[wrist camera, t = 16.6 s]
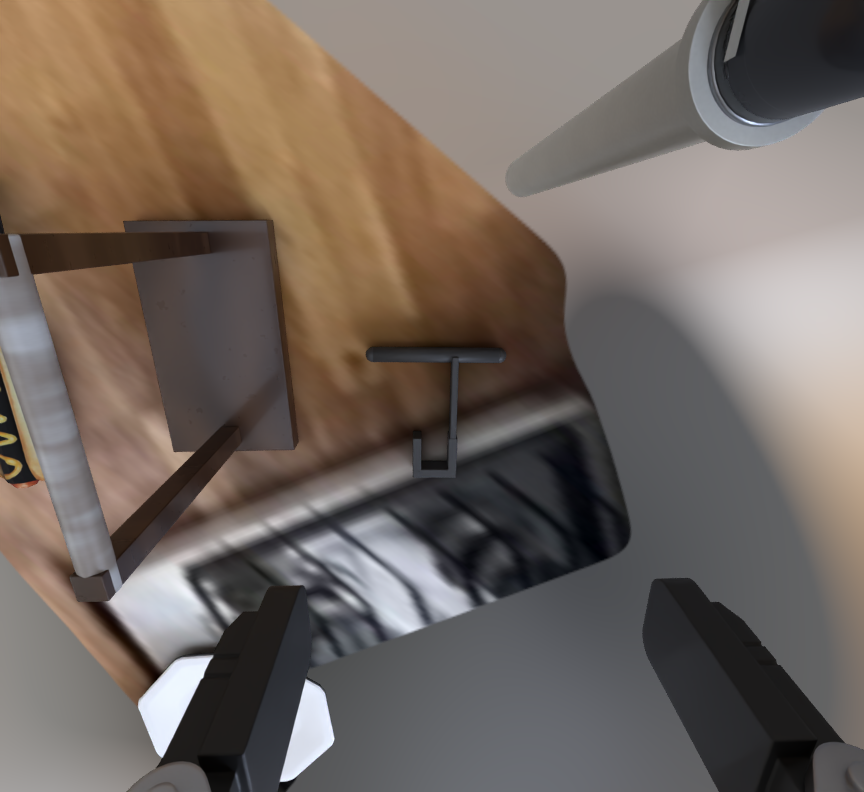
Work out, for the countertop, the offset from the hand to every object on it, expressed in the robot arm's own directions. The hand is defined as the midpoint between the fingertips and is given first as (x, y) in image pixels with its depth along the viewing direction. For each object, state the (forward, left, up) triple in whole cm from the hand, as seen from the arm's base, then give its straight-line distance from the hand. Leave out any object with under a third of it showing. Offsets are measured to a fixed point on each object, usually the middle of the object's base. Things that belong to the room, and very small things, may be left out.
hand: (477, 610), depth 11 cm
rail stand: (+17, 0, -28) cm, 33 cm away
